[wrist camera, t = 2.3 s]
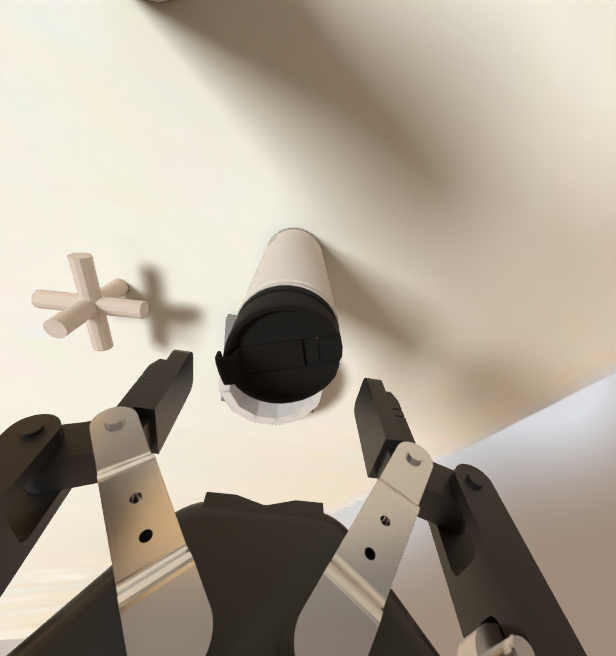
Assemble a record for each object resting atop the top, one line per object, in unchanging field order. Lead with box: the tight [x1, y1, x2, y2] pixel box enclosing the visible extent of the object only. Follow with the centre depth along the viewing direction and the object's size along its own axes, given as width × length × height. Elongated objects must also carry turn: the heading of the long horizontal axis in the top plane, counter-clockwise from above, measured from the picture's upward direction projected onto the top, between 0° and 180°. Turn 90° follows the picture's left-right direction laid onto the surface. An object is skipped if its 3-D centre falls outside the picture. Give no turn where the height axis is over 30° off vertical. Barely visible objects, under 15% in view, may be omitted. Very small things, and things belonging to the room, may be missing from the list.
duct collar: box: [219, 314, 323, 425], centre depth 37 cm, size 13×13×5 cm
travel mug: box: [215, 228, 343, 404], centre depth 23 cm, size 6×7×20 cm
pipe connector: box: [32, 253, 149, 351], centre depth 29 cm, size 10×10×10 cm
